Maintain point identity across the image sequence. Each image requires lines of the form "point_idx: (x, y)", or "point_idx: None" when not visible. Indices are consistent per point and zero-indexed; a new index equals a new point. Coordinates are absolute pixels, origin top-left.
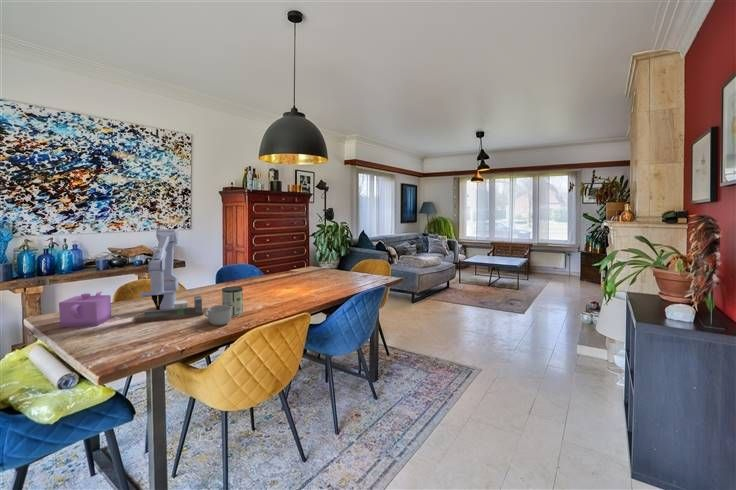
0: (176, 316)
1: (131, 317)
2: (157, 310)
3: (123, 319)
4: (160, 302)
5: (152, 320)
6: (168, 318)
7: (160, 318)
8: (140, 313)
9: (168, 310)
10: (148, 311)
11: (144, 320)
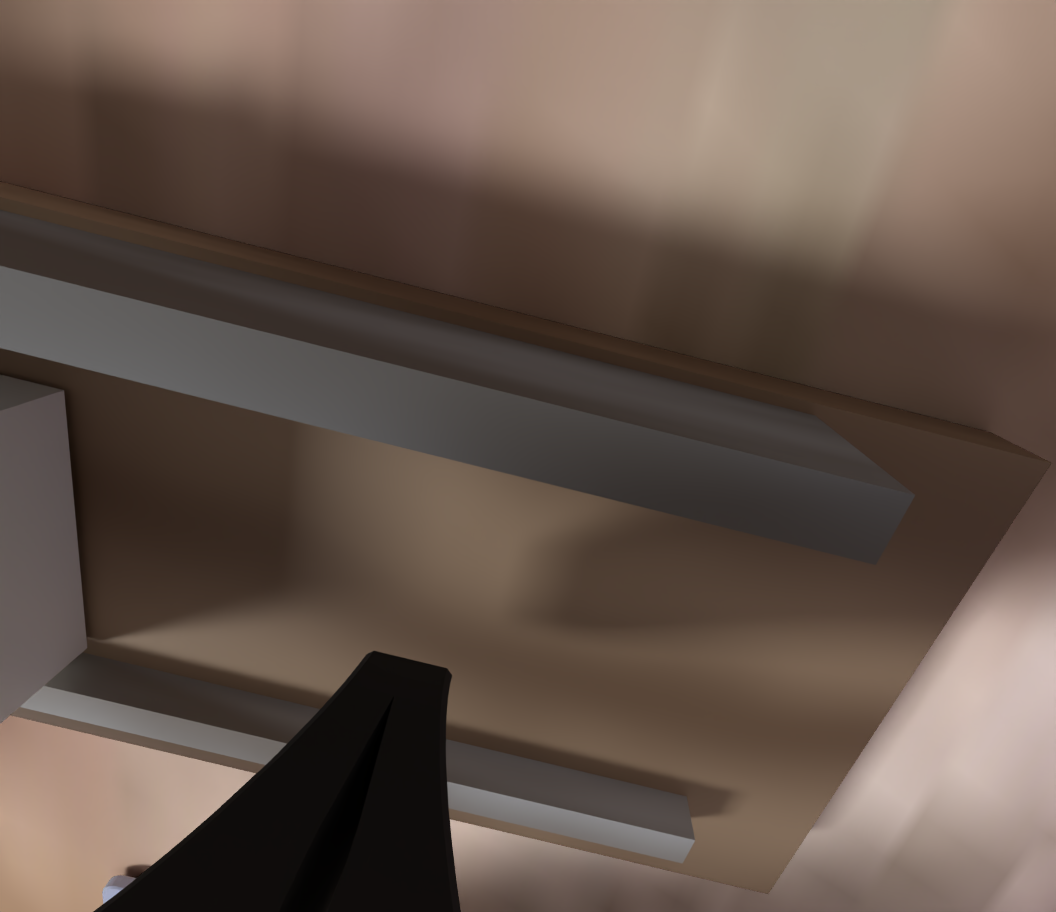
0: (35, 198)
1: (852, 825)
2: None
3: (1013, 796)
4: (166, 886)
5: (629, 341)
6: (259, 247)
7: (441, 299)
8: (723, 856)
9: (69, 281)
10: (596, 824)
11: (811, 395)
